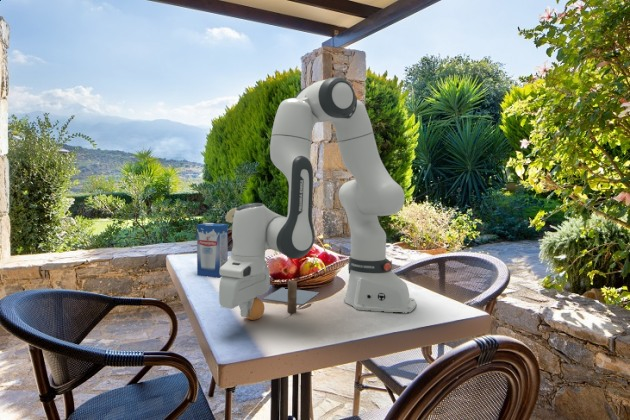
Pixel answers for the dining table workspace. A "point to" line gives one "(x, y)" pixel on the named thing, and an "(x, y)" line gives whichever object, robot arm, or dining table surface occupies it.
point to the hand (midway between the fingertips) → (245, 315)
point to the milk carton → (211, 248)
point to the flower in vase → (230, 217)
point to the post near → (292, 296)
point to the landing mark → (282, 296)
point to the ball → (256, 309)
